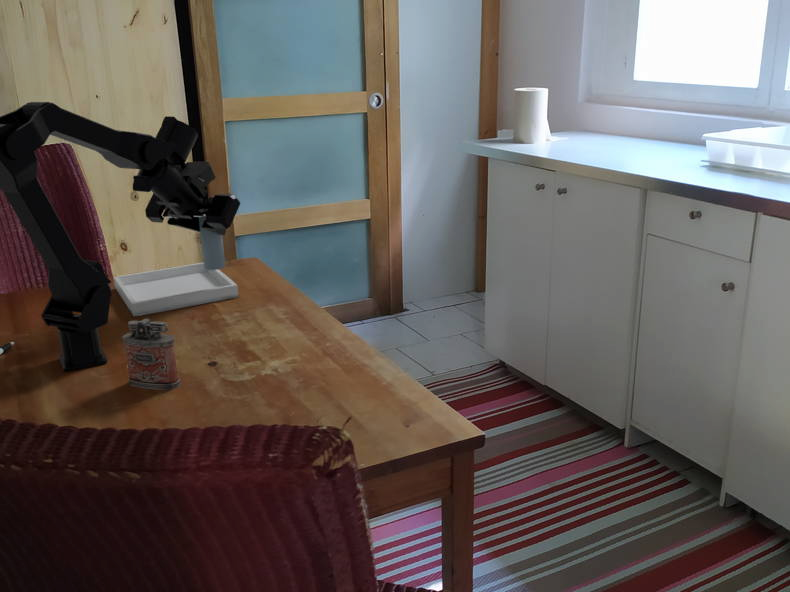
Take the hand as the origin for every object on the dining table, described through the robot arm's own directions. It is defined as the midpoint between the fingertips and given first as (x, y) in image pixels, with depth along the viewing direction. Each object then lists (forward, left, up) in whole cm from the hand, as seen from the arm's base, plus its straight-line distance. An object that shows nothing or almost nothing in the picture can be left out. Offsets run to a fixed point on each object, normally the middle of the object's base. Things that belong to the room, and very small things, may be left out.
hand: (215, 232), depth 146 cm
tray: (+7, +8, -13) cm, 16 cm away
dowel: (-1, +1, -7) cm, 7 cm away
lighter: (-35, +21, -13) cm, 43 cm away
